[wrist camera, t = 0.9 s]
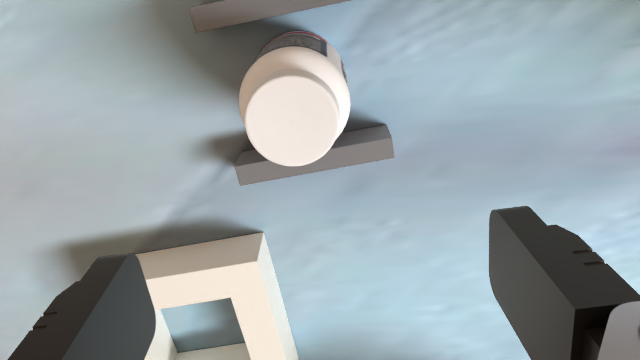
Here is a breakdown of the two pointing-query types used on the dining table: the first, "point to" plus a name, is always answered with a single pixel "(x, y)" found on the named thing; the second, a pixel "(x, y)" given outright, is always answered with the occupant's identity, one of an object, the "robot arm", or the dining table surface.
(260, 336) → the port
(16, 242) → the dining table surface
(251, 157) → the grey blocks
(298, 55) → the pill bottle
